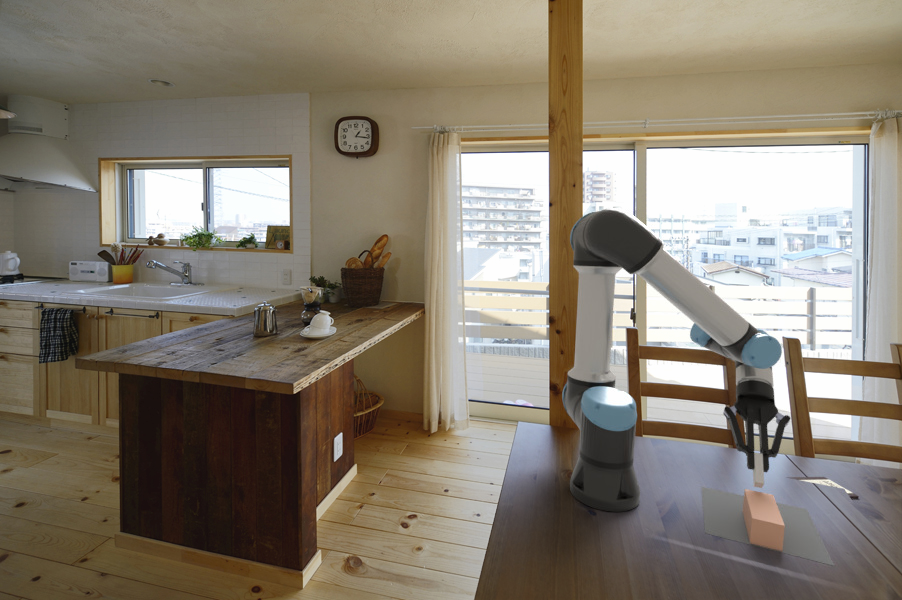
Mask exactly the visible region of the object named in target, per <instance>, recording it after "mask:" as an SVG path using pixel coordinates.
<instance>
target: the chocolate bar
mask: <svg viewBox="0 0 902 600" xmlns="http://www.w3.org/2000/svg"><path fill="white" fill-rule="evenodd" d="M785 478H786V479H792V480H797V481H803V482H807V483H812V484H818V485H821V486H828V487H834V488H838V489H843V490H844V491H845V492H846V493H847V495H848V496H849V498H850V500H851V499H859V495H857V494H856V493H854V492H852V491H850V490H849V489H847V488H845V487H843V486H841V485H840V484H838V483H836V482H834V481H833V480H831V479H829V478H827V477H826V476H803V477H802V476H801V477H800V476H791V477H785Z"/></svg>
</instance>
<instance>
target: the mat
mask: <svg viewBox="0 0 902 600" xmlns="http://www.w3.org/2000/svg"><path fill="white" fill-rule="evenodd" d="M700 489H701V499H702V500H701V501H702V511H703V521H704V522H703V523H704V526H703V527H704V533H705V534H706V535H711V536H715V537H719V538H723V539H725V540H726V539H727V540H731V541H734V542H739V543H743V544H747V545H750V546H754V547H758V548H763V549H766V550H768V551H769V550H771V551H774V552H777V553H782V554H785V555H788V556H789V555H790V556H793V557H797V558H801V559H806V560H810V561H813V562H817V563H821V564H825V565H830V566H833V567H835V564H834V562H833V560H832V557H831V556H830V553H829V552H828V550H827V547H826V546H825V544H824V541H823V539H822V537H821V536H820V533H819V531H818V529H817V527H816V524H815V523H814V521H813V519H812V517H811V515H810V512H809V511H808V508H803V507H798V506H795V505H789V504H784V503H780V502H776V504H777V506H778V509H779V512H780V514H781V517H782V520H783V522H784V525H785V529H784V539H783V549H782V551H780V550H776V549H772V548H768V547H764V546H760V545H756V544H752V543H750V540H749V536H748V532H747V527H746V523H745V519H744V515H743V502H744V494H743V495H741V494H738V493H734V492H728V491H725V490H718V489H714V488H709V487H705V486H701V487H700Z"/></svg>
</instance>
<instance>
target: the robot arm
mask: <svg viewBox="0 0 902 600" xmlns="http://www.w3.org/2000/svg"><path fill="white" fill-rule="evenodd" d="M569 234H570V236H569V242H570V246H571V248H572V251H573V259H572V260H573V262H572V263H573V265H572V267H573V268H574V269H575V271H577V273H578V286H577V287H578V290H577V305H576V306H577V307H576V327H575V345H574V349H575V350H574V362H573V363H574V364H573V367H572V368H571V369H570V370H568V371H567V380H566V383H565V385H564V386H563V389H562V394H561V395H562V397H561V398H562V403H563V408H564V410H565V411H566V414H567V415H568V416H569V417H570V418H571V420H572V421H573V422H574V424H575V425H576V426H577V427H578V429H579V432H580V435H579V436H580V437H579V455H578V459H577V461H576V464H575V466H574V469H573V472H572V474H571V475H570V480H569V481H570V482H569V490H570V493H571V494H572V497H574V498H575V499H576V500H577V501H579V502H581V503H582V504H584V505H586V506H588V507H591V508H593V509H596V510H600V511H604V512H605V511H606V512H613V513H614V512H617V513H618V512H627V511H631V510H633V509H634V508H636V507H637V506H638V505H639V504H640V499H641V498H640V497H641V490H640V486H639V481H638V477H637V475H636V472H635V468H634V458H635V444H636V442H635V441H636V430H637V429H636V428H637V420H638V413H637V403H636V401H635V399H634V398H633V396H631V395H630V394H629V393H628V392H626V391H623V390H619V388H616V375H615V374H614V373H613V372H612V370H611V369H610V368H611V353H612V352H611V350H612V335H613V334H612V333H613V320H614V319H613V317H614V302H615V287H616V285H615V284H616V274H617V273H619V272H620V271H621V270H622V269H623V270H624V271H625V272H627V273H628V274H629V275H638V276H639V277H640V278H641V279H643V280H644V281H645V283H647V284H648V285H650V287H652V288H653V289H654V290H655V291H656V292H658V294H660V295H661V296H662V297H663V298H664V299H666V300H667V301H668V302H669V303H670V304H672V305H673V306H674V307H675V308H676V309H678V311H680V312H681V313H682V314H683V315H684V316H686V317H687V318H688V319H689V320H690V321H691V322H693V324H692V326H691V328H690V331H689V337H690V340H691V341H692V342H693V343H695V344H696V345H698V346H700V347H701V348H705V349H707V350H708V351H711V352H714V353H716V354H718V355H721V356H722V357H725V358H726V359H729V360H731V361H733V362H734V365H735V385H736V386H735V398H736V399H735V400H736V401H735V402H734V404H733V406H730V407H729V406H725V407H724V408H723V413H722V414H723V416H724V417H725V418H726V420H727V421H728V424H729V428H730V430H731V435H732V438H733V441H734V444H735V447H736V450H737V451H738V452H741V453H744V454H745V456H746V467H747V469H748V470H752V477H753V479H752V481H753V488H754V487H755V488H760V489H763V487H764V485H765V476H764V475H765V473H768V472H769V470H770V458H773V459H775V458H776V457H777V456H778V454H779V452H780V448H781V443H782V439H783V436H784V432H785V428H786V427H787V426H788V425H789V423H790V421H791V416H790V415H788V414H787V415H786V414H785V415H784V414H782V413H780V412H779V409H778V408H777V406H776V402H775V388H774V376H773V367H774V366H775V365H776V364H777V363H778V362H779V360H780V359H781V357H782V353H783V351H782V345H781V343H780V341H779V340H778V339H777V338H775V337H774V336H772V335H770V334H769V333H767V332H766V331H765V330H763V329H760V328H756V327H755V326H754V325H752V324H751V323H750V322H748V320H746V318H744V316H742V315H741V314H740V313H738V312H737V311H736V310H735V309H734V308H732V307H731V306H730V305H729V304H728V303H727V302H725V301H724V299H722V298H721V297H720V296H719V295H717V294H716V293H715V292H714V291H713V290H712V289H711V288H710V287H709V286H708V285H707V284H705V283H704V282H703V281H702V280H700V279H699V277H697V276H696V275H695V274H693V273H692V272H691V271H690V270H689V269H688V268H687V267H686V266H684V264H682V263H681V262H680V261H679V260H678V259H676V257H674V256H673V255H672V254H671V253H670V252H668V251H667V250H666V249H665V248H664V240H662V239H661V238H660V237H659V236H658V235H656V233H654V232H653V231H652V230H651V229H650V228H649V227H648V226H646V225H645V224H644V223H643V222H642V221H641V220H639V219H638V218H637V217H636V216H634V215H633V214H631V213H629V212H628V211H626V210H623V209H621V208H620V209H619V208H616V207H615V208H611V207H610V208H609V207H608V208H605V209H602V210H597V211H592V212H588V213H586V214H584V215H583V216H581V217H580V218H579V219H578V220H576V221H575V223H574V225H573V226H572V228H571V230H570V233H569ZM737 414H738V415H739V417H740V418H741V419H742V420H743V421H744V425H745V426H744V427H745V442H744V438H743V435H742V432H741V429H740V425H739V423H738V419H737V417H736V416H737ZM775 418H776V420H775V424H777V425H776V429H775V432H774V437H773V440H772V446H771V448H769V434H768V424H769V423H770V422H771V421H772V420H773V419H775ZM754 425H757V427H758V437H759V438H758V439H759V441H758V442H759V452H755V429H754Z"/></svg>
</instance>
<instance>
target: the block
mask: <svg viewBox="0 0 902 600" xmlns="http://www.w3.org/2000/svg"><path fill="white" fill-rule="evenodd" d="M743 491H744V493H743V496H744V502H743V515H744V519H745V523H746V527H747V532H748V536H749V540H750V543H752V544H756V545H760V546H764V547H768V548H772V549H776V550H780V551H782V549H783V539H784V529H785V525H784V522H783V520H782V517H781V514H780V512H779V509H778V506H777V504H776V503H777V501H776V498H775V496H774V494H770V493H766V492H761V491H756V490H751V489H747V488H746V489H745V488H744V490H743Z"/></svg>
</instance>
